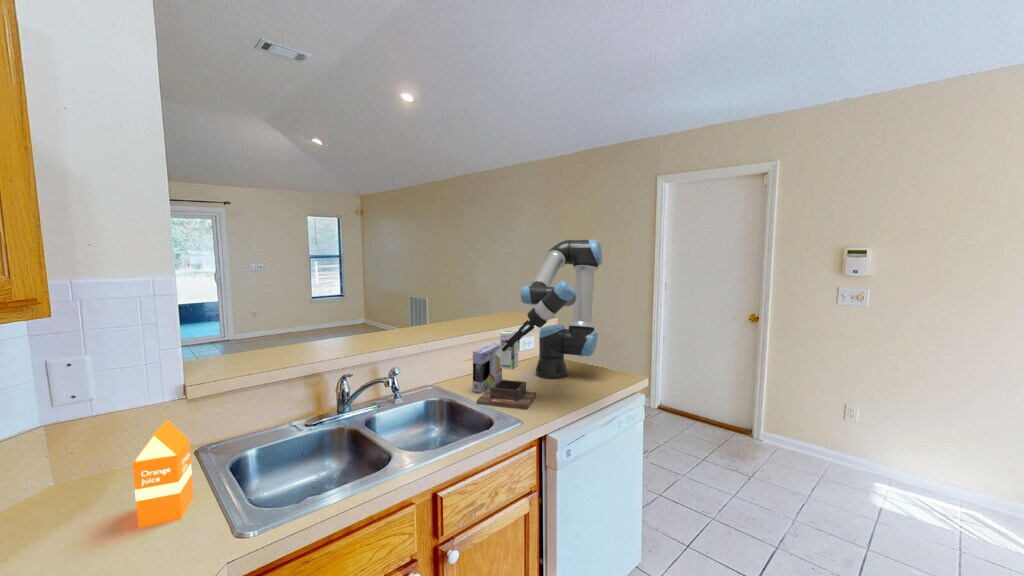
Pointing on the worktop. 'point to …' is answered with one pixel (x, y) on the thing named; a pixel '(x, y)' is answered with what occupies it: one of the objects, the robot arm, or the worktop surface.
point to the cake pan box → (486, 367)
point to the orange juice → (163, 477)
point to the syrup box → (511, 355)
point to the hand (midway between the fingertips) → (500, 353)
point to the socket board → (508, 395)
